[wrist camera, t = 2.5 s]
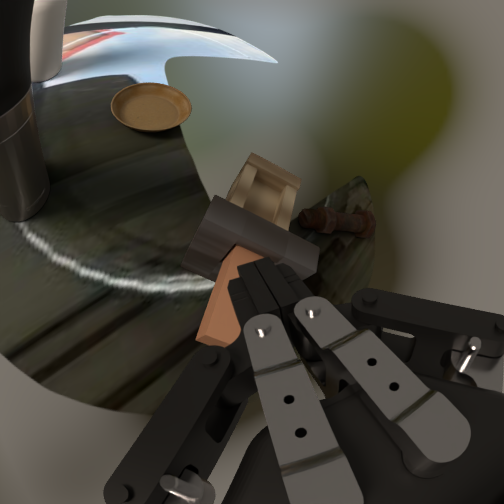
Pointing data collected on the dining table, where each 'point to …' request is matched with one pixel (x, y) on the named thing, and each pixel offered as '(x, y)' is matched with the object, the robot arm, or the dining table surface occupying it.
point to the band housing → (252, 223)
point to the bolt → (338, 221)
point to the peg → (224, 301)
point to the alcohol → (46, 39)
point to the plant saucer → (151, 107)
